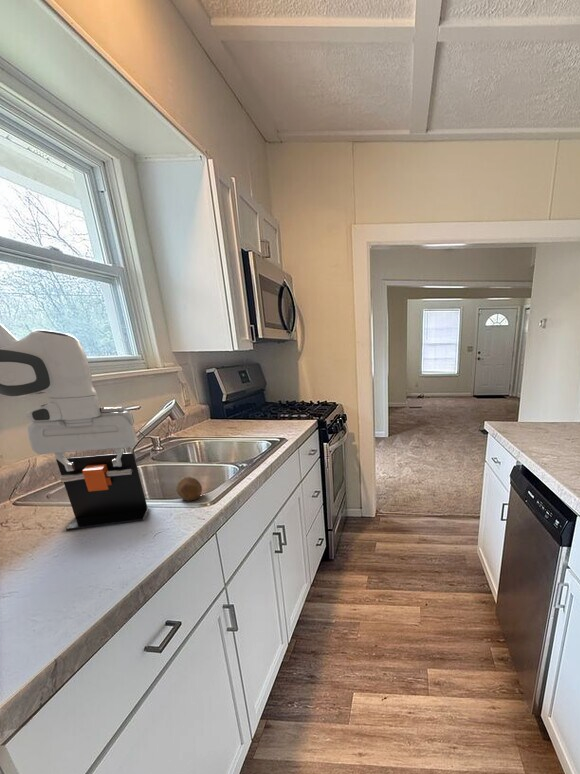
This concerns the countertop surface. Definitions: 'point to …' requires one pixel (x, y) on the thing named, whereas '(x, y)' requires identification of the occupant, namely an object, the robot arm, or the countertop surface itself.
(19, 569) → the countertop surface
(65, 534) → the countertop surface
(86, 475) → the block
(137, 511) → the oven panel
